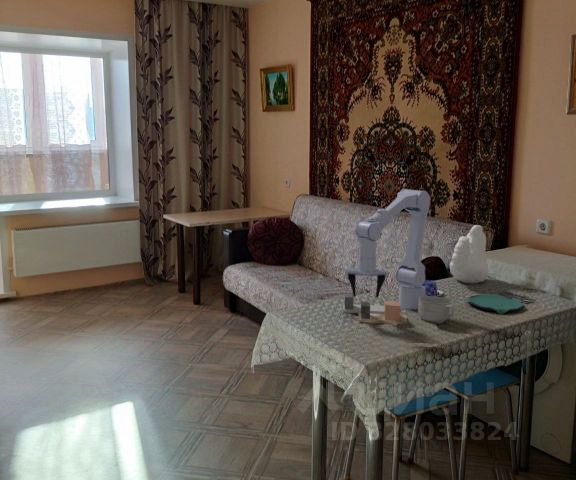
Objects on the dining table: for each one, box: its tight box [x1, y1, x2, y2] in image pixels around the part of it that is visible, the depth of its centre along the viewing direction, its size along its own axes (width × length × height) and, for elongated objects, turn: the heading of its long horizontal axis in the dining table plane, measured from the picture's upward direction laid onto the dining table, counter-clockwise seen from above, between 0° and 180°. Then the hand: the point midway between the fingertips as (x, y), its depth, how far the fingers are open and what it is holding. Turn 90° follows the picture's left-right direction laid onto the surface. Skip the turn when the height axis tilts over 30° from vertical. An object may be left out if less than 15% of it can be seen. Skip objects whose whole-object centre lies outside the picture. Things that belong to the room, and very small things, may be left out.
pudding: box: [422, 279, 444, 297], centre depth 235 cm, size 12×12×5 cm
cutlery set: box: [465, 290, 537, 315], centre depth 222 cm, size 20×30×2 cm, turn 127°
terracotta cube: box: [383, 300, 401, 320], centre depth 197 cm, size 5×5×5 cm
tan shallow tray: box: [358, 301, 409, 325], centre depth 197 cm, size 16×7×5 cm, turn 84°
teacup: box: [417, 295, 455, 325], centre depth 198 cm, size 14×11×8 cm
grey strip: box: [342, 292, 384, 314], centre depth 208 cm, size 16×7×5 cm, turn 84°
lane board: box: [343, 313, 398, 326], centre depth 203 cm, size 18×20×1 cm
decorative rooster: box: [449, 224, 489, 284], centre depth 251 cm, size 25×16×25 cm, turn 126°
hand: (365, 296), depth 197 cm, fingers open, 7 cm apart
